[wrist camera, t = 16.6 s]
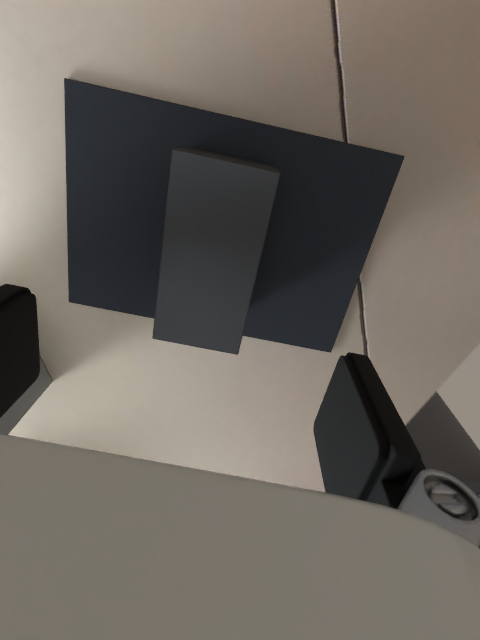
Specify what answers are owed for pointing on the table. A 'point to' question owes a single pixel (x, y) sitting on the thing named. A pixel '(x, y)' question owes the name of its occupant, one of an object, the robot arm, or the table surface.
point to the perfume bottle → (25, 401)
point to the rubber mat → (151, 197)
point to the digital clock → (211, 246)
